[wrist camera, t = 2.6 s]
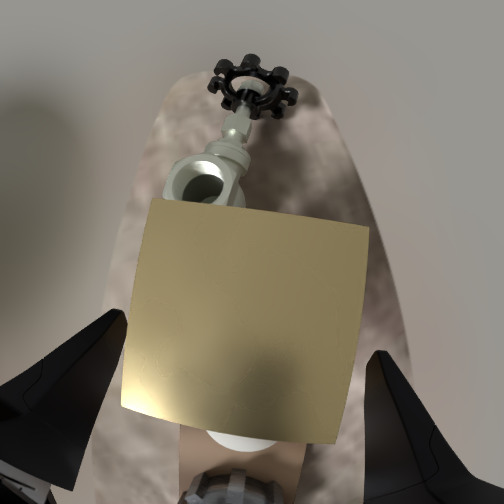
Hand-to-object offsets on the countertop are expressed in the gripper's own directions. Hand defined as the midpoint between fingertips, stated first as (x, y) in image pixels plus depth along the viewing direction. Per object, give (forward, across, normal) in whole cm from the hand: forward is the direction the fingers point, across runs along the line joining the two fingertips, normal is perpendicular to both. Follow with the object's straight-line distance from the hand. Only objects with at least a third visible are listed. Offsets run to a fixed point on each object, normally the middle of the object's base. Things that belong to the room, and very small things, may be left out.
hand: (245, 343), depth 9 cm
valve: (+14, +3, 0) cm, 15 cm away
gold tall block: (+6, 0, +5) cm, 8 cm away
